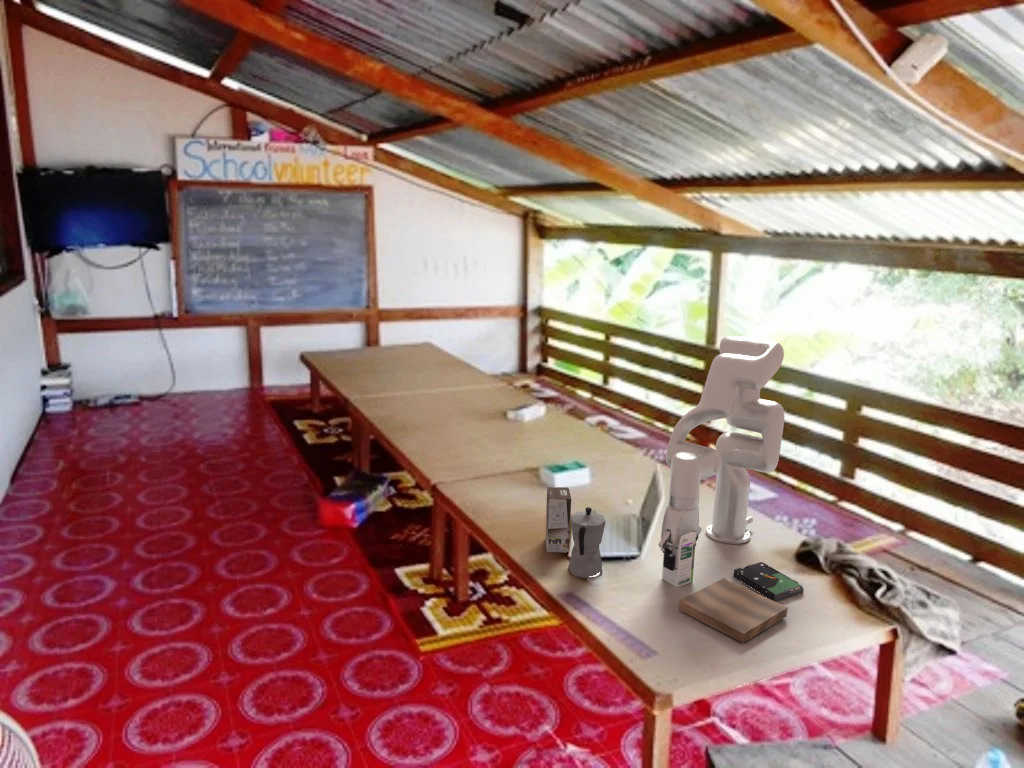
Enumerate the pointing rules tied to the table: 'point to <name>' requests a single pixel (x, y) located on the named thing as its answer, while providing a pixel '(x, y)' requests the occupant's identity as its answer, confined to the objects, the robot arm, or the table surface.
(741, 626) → the walnut stand
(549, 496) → the coffee box
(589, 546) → the coffeepot
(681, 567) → the syrup box
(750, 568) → the disk drive
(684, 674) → the table surface
